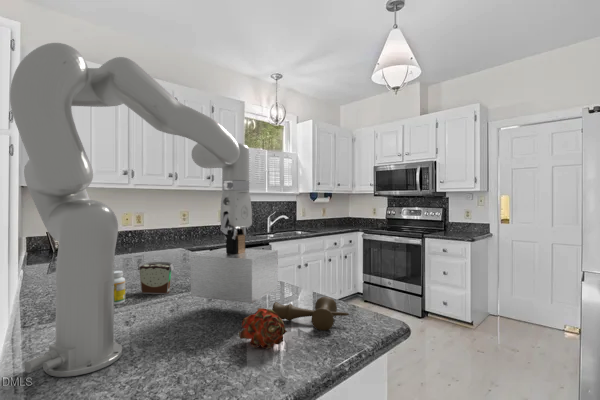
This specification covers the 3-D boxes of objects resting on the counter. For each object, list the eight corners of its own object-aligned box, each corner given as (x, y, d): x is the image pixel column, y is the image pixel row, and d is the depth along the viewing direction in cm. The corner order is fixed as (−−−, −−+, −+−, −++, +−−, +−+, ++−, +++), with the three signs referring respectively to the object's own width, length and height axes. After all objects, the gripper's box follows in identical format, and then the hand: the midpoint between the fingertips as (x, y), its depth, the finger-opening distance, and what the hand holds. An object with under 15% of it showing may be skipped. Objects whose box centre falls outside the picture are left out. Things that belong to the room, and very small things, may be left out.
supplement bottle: (128, 301, 102) (129, 271, 102) (111, 306, 97) (112, 274, 97) (118, 299, 105) (118, 269, 105) (101, 303, 100) (102, 272, 100)
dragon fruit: (283, 362, 66) (243, 355, 73) (300, 327, 72) (262, 323, 79) (263, 336, 62) (223, 330, 69) (282, 301, 68) (244, 299, 75)
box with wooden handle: (252, 303, 80) (251, 239, 80) (190, 296, 87) (190, 236, 87) (277, 287, 95) (277, 233, 95) (223, 282, 101) (223, 231, 101)
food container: (179, 289, 116) (180, 261, 117) (171, 294, 110) (171, 265, 110) (147, 288, 118) (147, 261, 118) (137, 293, 112) (137, 264, 112)
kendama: (277, 316, 90) (350, 318, 87) (268, 330, 81) (349, 333, 77) (277, 295, 90) (349, 296, 87) (267, 306, 81) (348, 309, 77)
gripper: (231, 185, 82) (231, 258, 82) (261, 188, 98) (261, 249, 97) (206, 186, 85) (206, 256, 84) (239, 189, 100) (239, 248, 100)
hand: (235, 251), depth 91 cm, fingers closed on box with wooden handle, 3 cm apart
